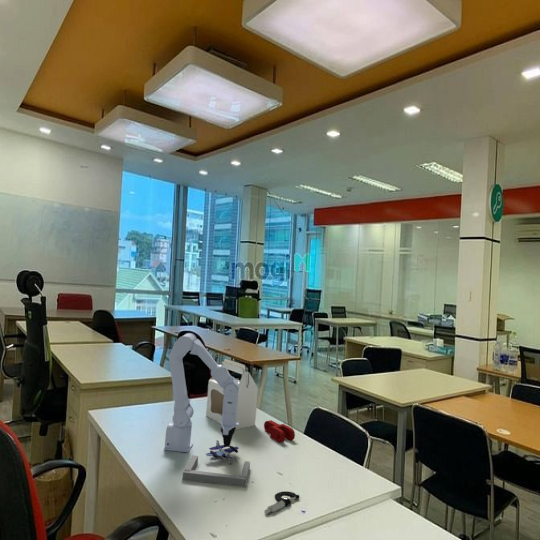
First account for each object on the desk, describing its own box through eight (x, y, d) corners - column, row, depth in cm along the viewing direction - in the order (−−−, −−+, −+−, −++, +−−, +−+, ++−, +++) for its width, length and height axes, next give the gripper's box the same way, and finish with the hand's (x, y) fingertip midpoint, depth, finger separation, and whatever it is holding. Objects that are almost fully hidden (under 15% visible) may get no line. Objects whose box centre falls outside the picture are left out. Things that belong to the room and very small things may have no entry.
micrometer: (285, 491, 131) (285, 483, 132) (301, 500, 126) (302, 492, 126) (251, 506, 121) (252, 498, 121) (268, 517, 116) (268, 509, 116)
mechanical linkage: (294, 441, 172) (295, 430, 172) (281, 444, 168) (282, 432, 168) (271, 428, 185) (272, 418, 185) (259, 431, 180) (260, 420, 181)
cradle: (182, 479, 132) (182, 472, 132) (192, 462, 145) (192, 455, 145) (245, 487, 131) (245, 479, 131) (249, 468, 144) (250, 461, 144)
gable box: (205, 415, 194) (210, 358, 195) (227, 411, 203) (231, 356, 204) (233, 431, 178) (238, 367, 179) (255, 425, 187) (260, 365, 188)
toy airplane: (238, 470, 141) (239, 460, 141) (201, 464, 144) (201, 454, 144) (247, 455, 154) (248, 446, 154) (212, 450, 157) (213, 440, 157)
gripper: (237, 418, 149) (234, 455, 149) (242, 406, 164) (239, 440, 163) (218, 417, 150) (215, 453, 149) (225, 405, 164) (222, 438, 164)
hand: (226, 446), depth 156 cm, fingers closed
